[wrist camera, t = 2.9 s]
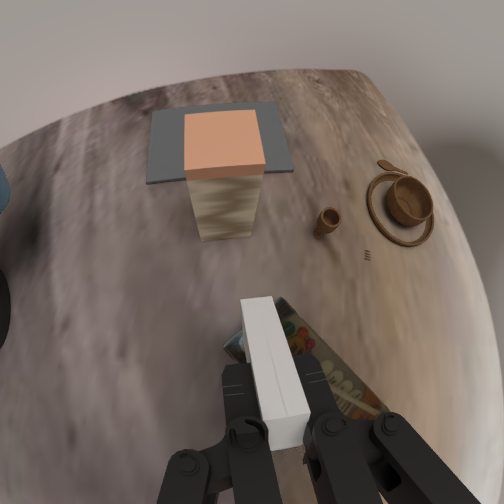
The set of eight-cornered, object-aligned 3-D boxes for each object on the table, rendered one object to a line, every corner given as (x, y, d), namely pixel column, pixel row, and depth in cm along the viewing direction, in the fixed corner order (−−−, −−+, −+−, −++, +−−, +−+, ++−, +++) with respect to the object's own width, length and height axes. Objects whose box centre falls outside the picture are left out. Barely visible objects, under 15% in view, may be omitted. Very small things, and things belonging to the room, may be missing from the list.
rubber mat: (146, 184, 36) (145, 182, 35) (153, 113, 40) (152, 111, 40) (292, 172, 38) (293, 169, 38) (275, 104, 42) (275, 102, 42)
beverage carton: (273, 300, 33) (284, 290, 27) (374, 407, 29) (402, 417, 23) (221, 346, 31) (219, 347, 24) (329, 453, 27) (349, 472, 21)
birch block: (201, 241, 34) (184, 170, 20) (198, 197, 36) (184, 114, 22) (250, 236, 35) (265, 163, 21) (244, 193, 37) (254, 109, 22)
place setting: (430, 275, 36) (455, 264, 30) (304, 248, 35) (317, 230, 30) (422, 177, 41) (440, 159, 36) (314, 143, 41) (325, 117, 36)
